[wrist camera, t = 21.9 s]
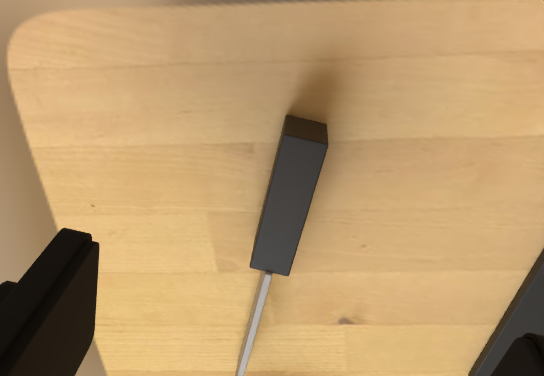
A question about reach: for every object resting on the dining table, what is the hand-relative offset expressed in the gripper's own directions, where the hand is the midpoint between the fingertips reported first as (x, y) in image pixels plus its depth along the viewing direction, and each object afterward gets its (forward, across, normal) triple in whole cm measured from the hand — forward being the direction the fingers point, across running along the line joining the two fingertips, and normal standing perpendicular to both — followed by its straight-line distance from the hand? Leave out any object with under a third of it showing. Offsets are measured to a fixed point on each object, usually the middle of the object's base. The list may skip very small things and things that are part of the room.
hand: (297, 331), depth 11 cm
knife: (+16, 0, +10) cm, 18 cm away
